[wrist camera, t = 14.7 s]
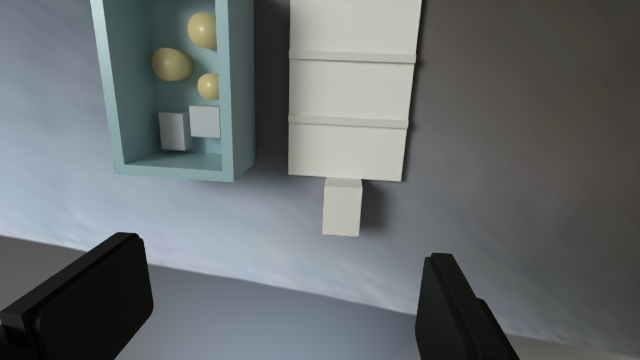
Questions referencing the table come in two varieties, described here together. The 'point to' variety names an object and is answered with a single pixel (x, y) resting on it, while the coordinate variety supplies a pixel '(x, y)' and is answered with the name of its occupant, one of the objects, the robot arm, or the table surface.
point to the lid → (350, 97)
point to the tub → (178, 86)
